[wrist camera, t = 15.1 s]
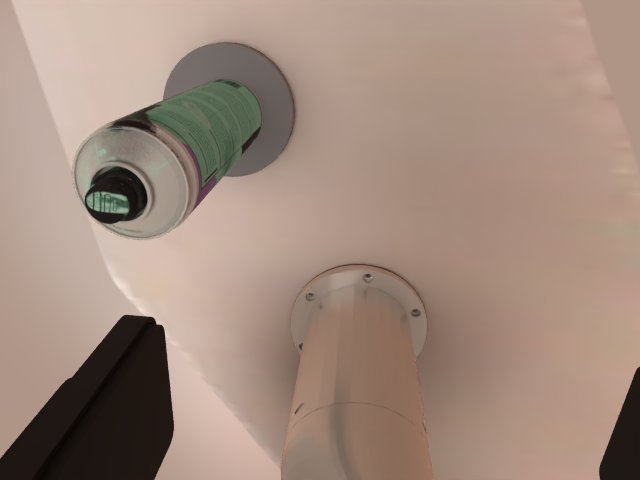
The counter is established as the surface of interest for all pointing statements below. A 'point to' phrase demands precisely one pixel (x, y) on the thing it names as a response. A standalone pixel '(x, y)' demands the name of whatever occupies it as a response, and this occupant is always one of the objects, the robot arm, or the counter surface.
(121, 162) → the spray can
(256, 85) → the mat
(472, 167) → the counter surface
